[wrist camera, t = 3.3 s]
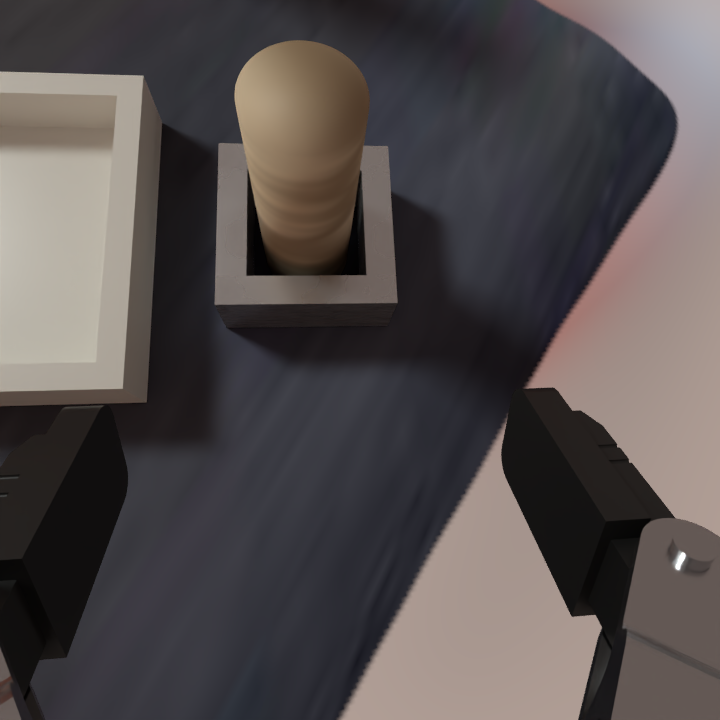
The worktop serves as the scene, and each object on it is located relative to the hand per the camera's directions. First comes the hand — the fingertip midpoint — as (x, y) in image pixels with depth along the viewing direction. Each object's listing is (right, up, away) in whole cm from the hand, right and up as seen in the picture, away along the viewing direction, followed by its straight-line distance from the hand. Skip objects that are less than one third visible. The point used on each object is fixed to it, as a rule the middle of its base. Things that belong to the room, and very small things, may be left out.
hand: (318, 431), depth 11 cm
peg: (-2, +7, +18) cm, 20 cm away
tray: (-18, +7, +17) cm, 26 cm away
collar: (-2, +7, +18) cm, 20 cm away
